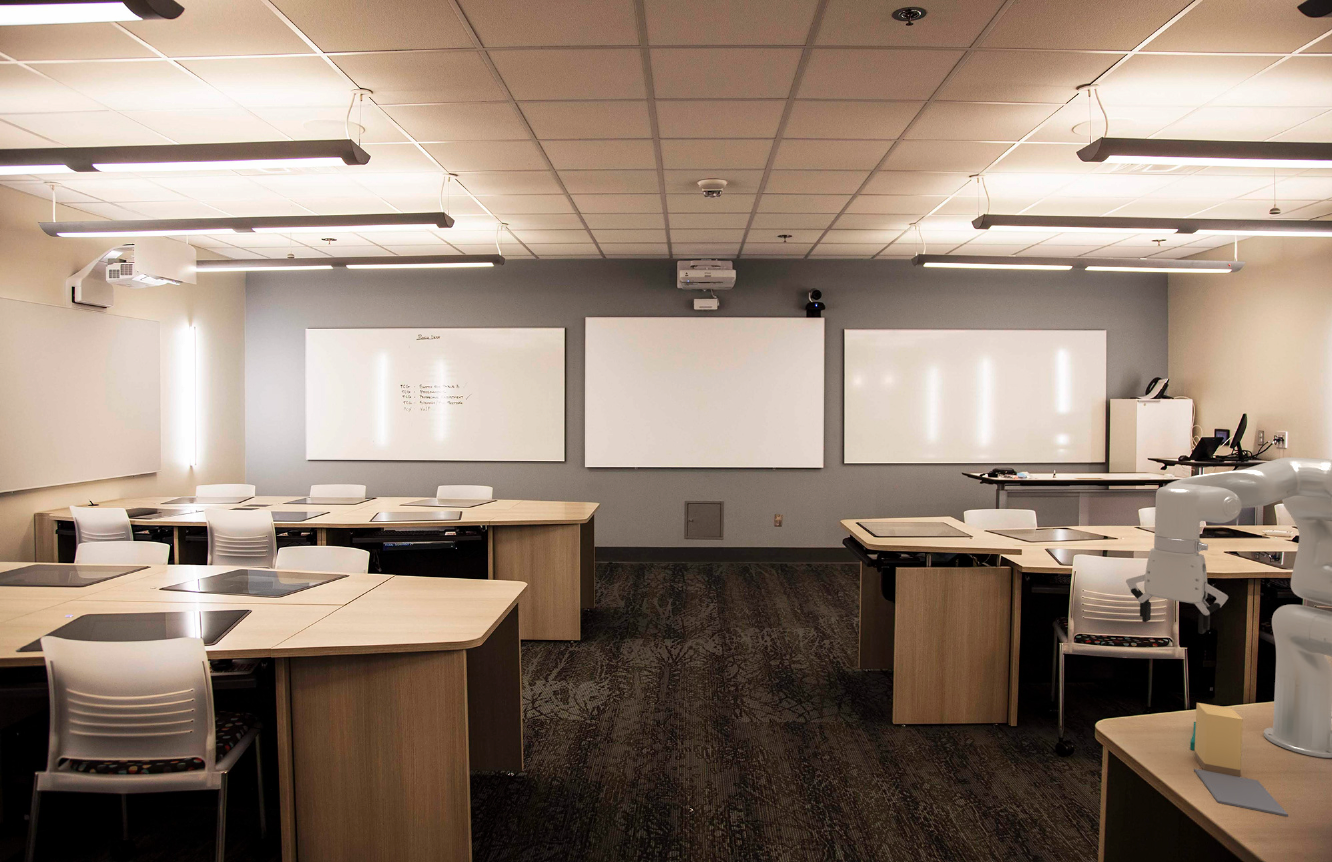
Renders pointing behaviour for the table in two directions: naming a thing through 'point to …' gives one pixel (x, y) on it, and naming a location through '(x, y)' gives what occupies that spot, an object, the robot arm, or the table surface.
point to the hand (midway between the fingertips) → (1173, 626)
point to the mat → (1240, 792)
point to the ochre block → (1218, 739)
